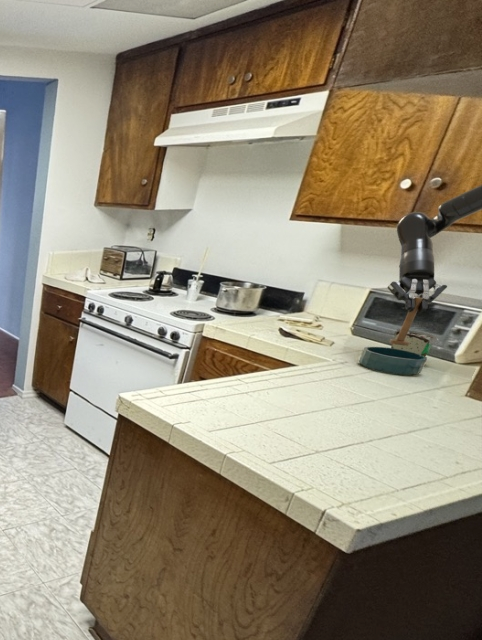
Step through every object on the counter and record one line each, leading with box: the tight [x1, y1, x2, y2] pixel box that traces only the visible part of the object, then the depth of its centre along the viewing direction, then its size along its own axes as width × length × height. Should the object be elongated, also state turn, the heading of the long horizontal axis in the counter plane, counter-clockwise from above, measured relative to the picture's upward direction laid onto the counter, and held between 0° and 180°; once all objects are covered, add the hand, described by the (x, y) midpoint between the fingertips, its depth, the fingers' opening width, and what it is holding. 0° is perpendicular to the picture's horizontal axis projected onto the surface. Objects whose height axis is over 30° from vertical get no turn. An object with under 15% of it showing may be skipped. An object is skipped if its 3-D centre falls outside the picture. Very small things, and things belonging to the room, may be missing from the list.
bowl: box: [358, 346, 428, 376], centre depth 153 cm, size 15×15×6 cm
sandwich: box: [390, 328, 438, 357], centre depth 160 cm, size 12×6×10 cm, turn 179°
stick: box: [389, 296, 423, 345], centre depth 148 cm, size 4×4×15 cm
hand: (416, 310), depth 145 cm, fingers closed on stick, 2 cm apart
